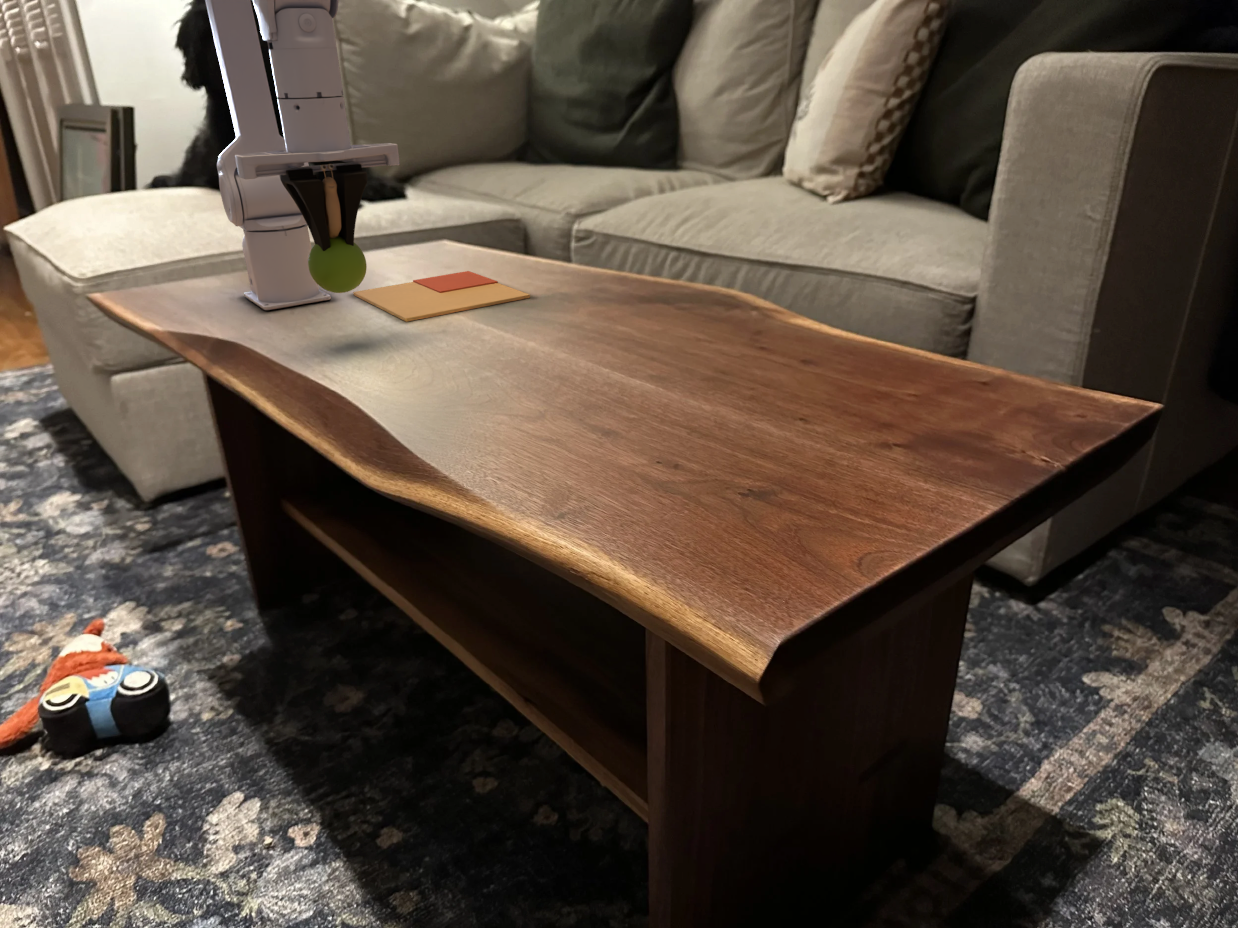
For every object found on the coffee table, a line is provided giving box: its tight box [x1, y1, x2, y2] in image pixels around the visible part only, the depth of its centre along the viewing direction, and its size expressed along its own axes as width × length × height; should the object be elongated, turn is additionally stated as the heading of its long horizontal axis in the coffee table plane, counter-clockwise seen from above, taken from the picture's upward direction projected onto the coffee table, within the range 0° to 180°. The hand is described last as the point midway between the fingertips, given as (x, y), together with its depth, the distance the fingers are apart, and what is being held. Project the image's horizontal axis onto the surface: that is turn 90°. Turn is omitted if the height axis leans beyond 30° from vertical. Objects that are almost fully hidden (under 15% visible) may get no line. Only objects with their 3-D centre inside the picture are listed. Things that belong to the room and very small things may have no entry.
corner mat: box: [352, 270, 531, 322], centre depth 106 cm, size 16×16×1 cm
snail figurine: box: [308, 163, 368, 294], centre depth 83 cm, size 5×6×12 cm
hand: (335, 250), depth 84 cm, fingers closed on snail figurine
